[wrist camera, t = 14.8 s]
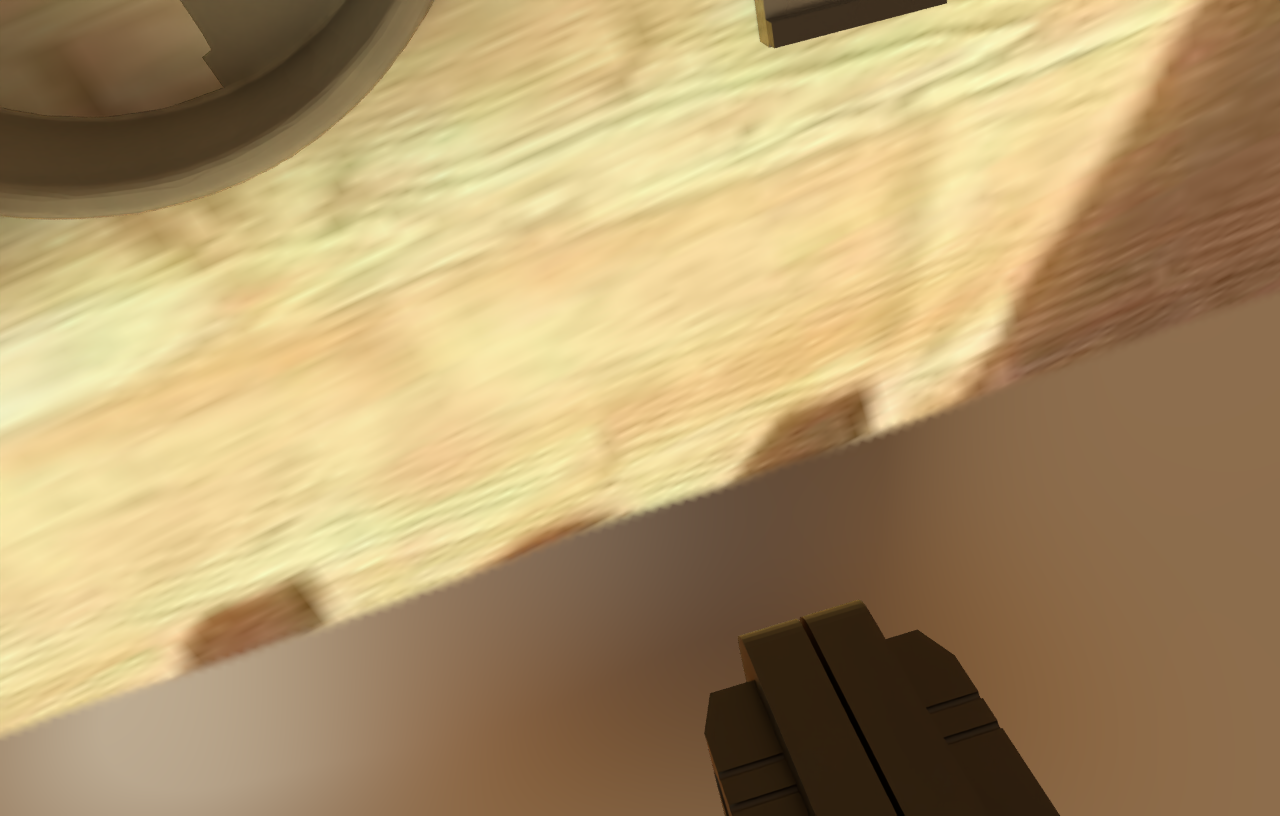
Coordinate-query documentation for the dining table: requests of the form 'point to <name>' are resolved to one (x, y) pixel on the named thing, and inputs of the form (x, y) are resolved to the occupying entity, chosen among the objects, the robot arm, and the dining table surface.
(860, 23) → the rail
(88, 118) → the cake pan
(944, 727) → the robot arm
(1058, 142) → the dining table surface
